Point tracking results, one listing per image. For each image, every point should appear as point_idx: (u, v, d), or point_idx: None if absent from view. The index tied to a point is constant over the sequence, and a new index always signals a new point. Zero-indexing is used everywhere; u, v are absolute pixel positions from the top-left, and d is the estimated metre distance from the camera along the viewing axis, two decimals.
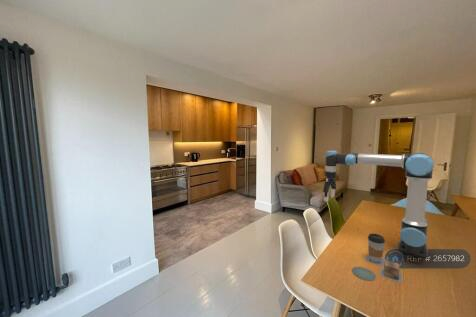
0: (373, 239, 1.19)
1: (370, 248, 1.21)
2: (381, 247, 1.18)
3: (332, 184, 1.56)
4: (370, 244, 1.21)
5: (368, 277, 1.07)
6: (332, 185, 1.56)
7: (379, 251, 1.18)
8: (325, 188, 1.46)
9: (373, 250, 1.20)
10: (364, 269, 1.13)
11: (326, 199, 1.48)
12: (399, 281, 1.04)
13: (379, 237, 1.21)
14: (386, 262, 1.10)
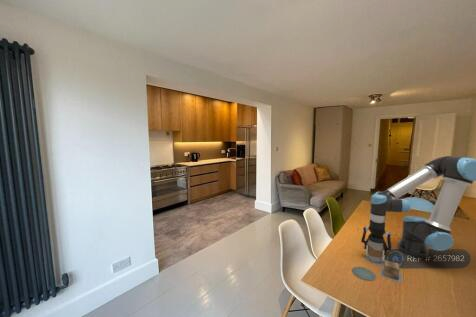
0: (373, 239, 1.19)
1: (370, 248, 1.21)
2: (381, 247, 1.18)
3: None
4: (370, 244, 1.21)
5: (368, 277, 1.07)
6: None
7: (379, 251, 1.18)
8: (362, 237, 1.26)
9: (373, 250, 1.20)
10: (364, 269, 1.13)
11: (366, 252, 1.25)
12: (399, 281, 1.04)
13: None
14: (386, 262, 1.10)
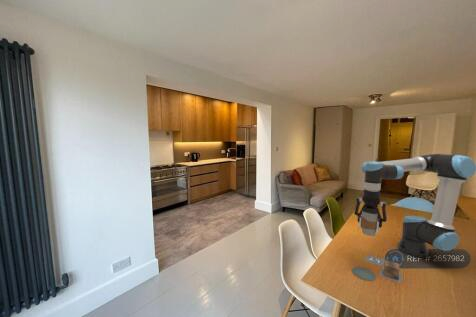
0: (367, 209, 1.09)
1: (363, 220, 1.11)
2: (375, 218, 1.08)
3: None
4: (363, 215, 1.11)
5: (368, 277, 1.07)
6: None
7: (372, 223, 1.08)
8: None
9: (366, 222, 1.10)
10: (364, 269, 1.13)
11: None
12: (399, 281, 1.04)
13: (373, 208, 1.10)
14: (386, 262, 1.10)
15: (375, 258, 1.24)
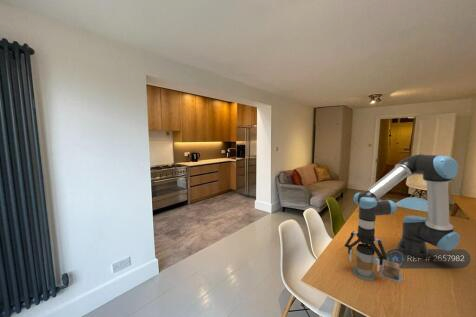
0: (362, 250, 1.07)
1: (358, 260, 1.09)
2: (370, 259, 1.06)
3: None
4: (359, 255, 1.09)
5: (368, 277, 1.07)
6: None
7: (368, 264, 1.06)
8: None
9: (361, 262, 1.07)
10: None
11: None
12: (399, 281, 1.04)
13: (369, 248, 1.08)
14: (386, 262, 1.10)
15: (375, 258, 1.24)
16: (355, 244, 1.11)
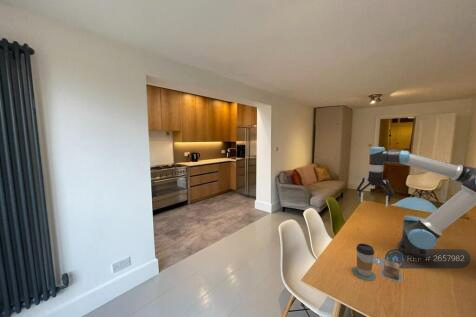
0: (362, 250, 1.07)
1: (358, 260, 1.09)
2: (370, 259, 1.06)
3: None
4: (358, 255, 1.09)
5: (368, 277, 1.07)
6: None
7: (368, 264, 1.06)
8: (358, 186, 1.36)
9: (361, 262, 1.07)
10: None
11: None
12: (399, 281, 1.04)
13: (368, 248, 1.08)
14: (386, 262, 1.10)
15: (375, 258, 1.24)
16: (366, 187, 1.32)
